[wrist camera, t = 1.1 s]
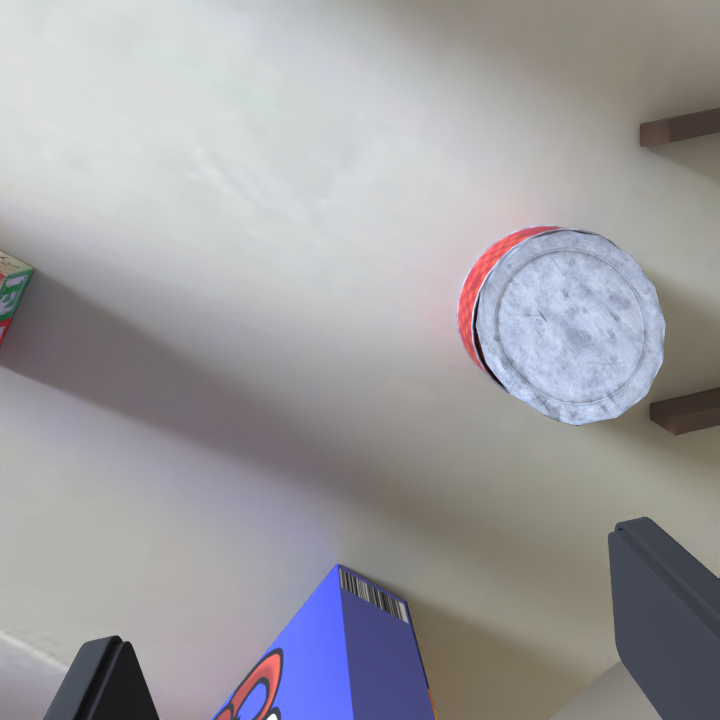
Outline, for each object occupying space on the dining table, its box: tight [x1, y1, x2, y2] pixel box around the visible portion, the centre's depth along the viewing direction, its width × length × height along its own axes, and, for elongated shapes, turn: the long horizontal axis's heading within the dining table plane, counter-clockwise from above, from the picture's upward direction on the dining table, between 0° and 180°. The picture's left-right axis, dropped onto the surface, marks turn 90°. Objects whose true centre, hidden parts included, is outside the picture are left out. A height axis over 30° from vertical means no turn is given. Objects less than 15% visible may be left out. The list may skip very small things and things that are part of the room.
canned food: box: [457, 226, 666, 426], centre depth 30 cm, size 11×10×10 cm
